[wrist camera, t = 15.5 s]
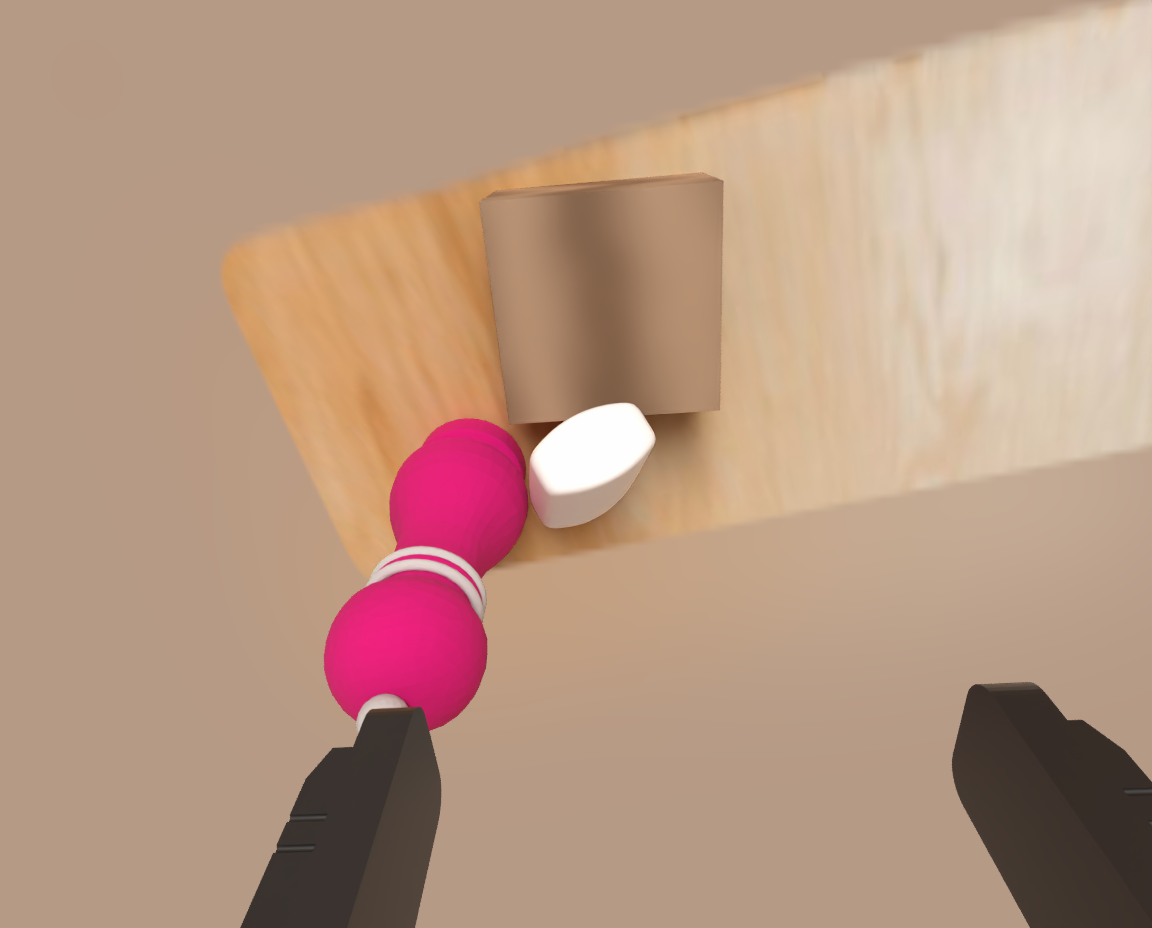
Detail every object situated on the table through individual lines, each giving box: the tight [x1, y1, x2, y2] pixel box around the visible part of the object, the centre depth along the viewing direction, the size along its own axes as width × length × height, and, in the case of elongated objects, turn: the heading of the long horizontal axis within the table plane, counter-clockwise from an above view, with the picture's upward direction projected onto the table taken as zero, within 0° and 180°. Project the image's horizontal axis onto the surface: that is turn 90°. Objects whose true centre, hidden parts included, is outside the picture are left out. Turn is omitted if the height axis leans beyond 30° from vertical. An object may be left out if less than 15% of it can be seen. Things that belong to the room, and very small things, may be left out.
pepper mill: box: [324, 419, 528, 733], centre depth 31 cm, size 7×7×20 cm
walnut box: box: [479, 173, 723, 424], centre depth 32 cm, size 10×10×6 cm
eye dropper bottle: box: [529, 403, 656, 528], centre depth 35 cm, size 4×6×12 cm
